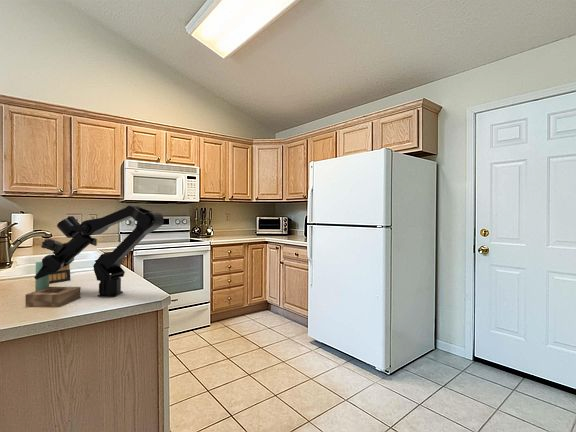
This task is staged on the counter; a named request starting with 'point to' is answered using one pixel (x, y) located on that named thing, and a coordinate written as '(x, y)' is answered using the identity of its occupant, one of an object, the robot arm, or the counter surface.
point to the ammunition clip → (60, 275)
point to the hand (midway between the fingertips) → (40, 276)
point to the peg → (43, 281)
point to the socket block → (52, 296)
